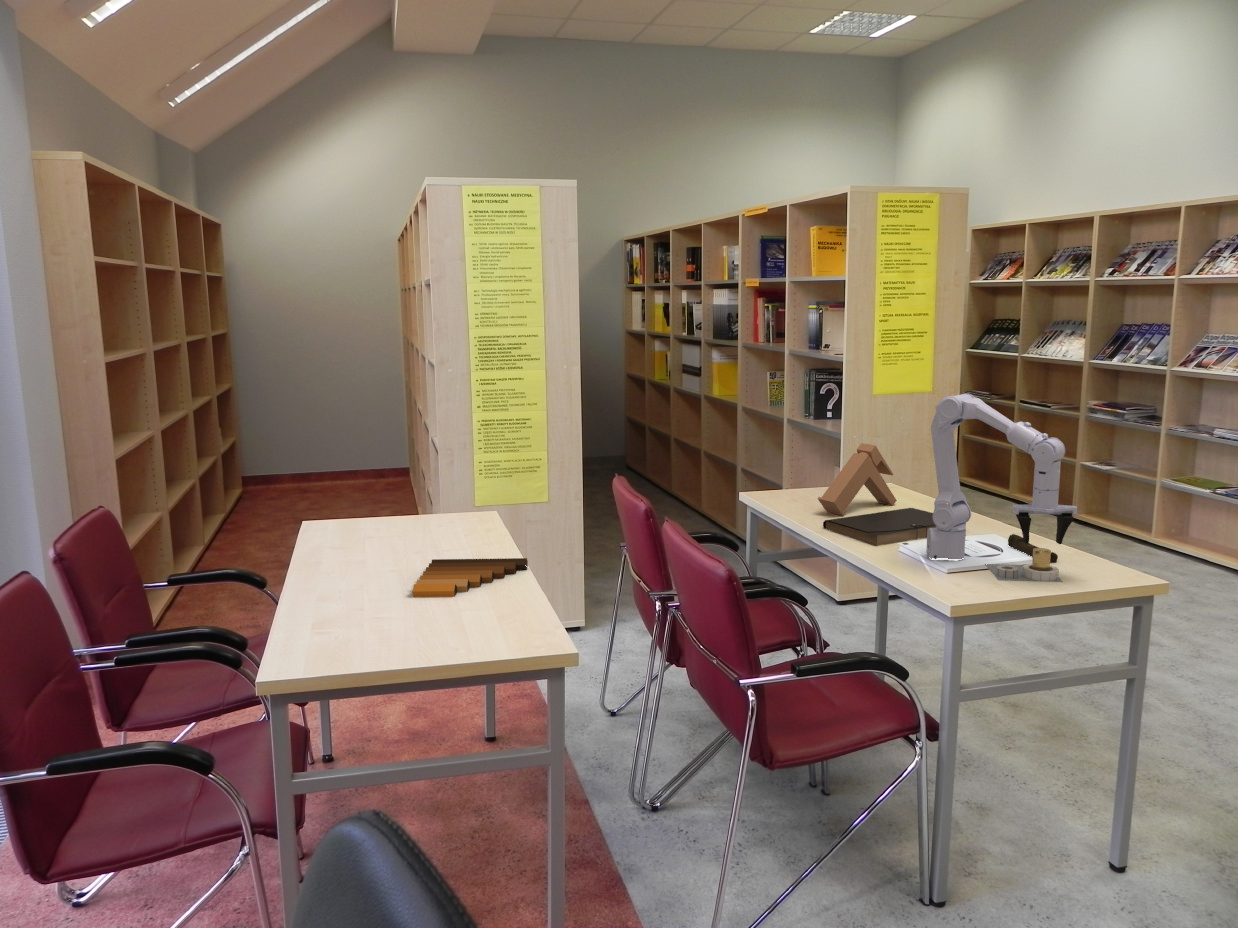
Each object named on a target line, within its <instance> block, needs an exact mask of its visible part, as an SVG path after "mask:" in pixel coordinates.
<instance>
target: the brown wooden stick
mask: <svg viewBox="0 0 1238 928" xmlns="http://www.w3.org/2000/svg"><path fill="white" fill-rule="evenodd" d="M1008 545H1009V546H1011V547H1010V548H1012V547H1013V548H1012V549H1013V550H1016V549H1017V550H1016V551H1018V550H1019V551H1018V552H1020V551H1021V553H1022V552H1024V553H1026V554H1028V555H1027V556H1029V555H1030V556H1029V557H1031V556H1032V557H1031V558H1033V549H1034V548H1040V547H1038V546H1037V545H1034V544H1033V543H1030V542H1029V544H1026V543H1024V542H1023V536H1020V535H1019V534H1015V533H1012V534H1010V535H1009V537H1008V539H1007V546H1008ZM1024 553H1023V554H1024ZM1026 554H1025V555H1026ZM1058 557H1059V555H1058V554H1057V553H1056V552H1053V551H1051V557H1050V564H1052V563H1053V564H1055V563H1057V561H1058Z"/></svg>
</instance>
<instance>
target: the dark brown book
mask: <svg viewBox="0 0 1238 928" xmlns="http://www.w3.org/2000/svg"><path fill="white" fill-rule="evenodd" d="M822 527H823V529H825V530H828V531H831V532H834V533H837V534H839V535H842V536H844V537H845V536H846V537H848V538H850V539H853V540H856V541H860V542H863V543H866V544H868V545H872V546H876V547H879V546H885V545H890V544H896V543H902V542H903V543H905V542H908V541H913V540H918V539H919V540H920V539H927V532H928V529H929V528H936V527H937V526H936V525H935V523H934V521H933V512H930V511H926V510H923V509H919V508H915V507H906V508H900V509H894V510H887V511H879V512H872V513H867V514H866V513H865V514H859V515H858V514H857V515H852V516H851V515H850V516H844V517H839V518H831V519H825V520H824V521H823V523H822Z"/></svg>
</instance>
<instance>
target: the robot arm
mask: <svg viewBox="0 0 1238 928" xmlns="http://www.w3.org/2000/svg"><path fill="white" fill-rule="evenodd" d="M975 419H976V420H979V421H981V422H983V423H985V424H986V425H989V426H991V427H992V428H994V429H996V430H999V431H1000V432H1002V433H1004V435H1006V440H1007V441H1008V442H1009V443H1010V444H1012V445H1013V446H1015V447H1017V448H1019V449H1020V450H1022V451H1024V452H1025V453H1027V454H1029V455H1030V456H1031V459H1032V460H1033V461H1034V471H1033V484H1032V485H1033V486H1032V487H1033V488H1032V500H1031V501H1032V502H1031V503H1029V504H1028V503H1027V504H1012V510H1011V512H1012V514H1014V515H1015V516H1016V519H1017V521H1018V523H1019V526H1020V529H1021V534H1022V538H1023V542H1024V543H1026V544H1029V543H1030V529H1031V522H1032V517H1030V515H1056V534H1055V535H1056V536H1055V541H1056V543H1057V544H1058V545H1062V544H1063V541H1064V537H1065V535H1066V532H1067V531H1068V529H1069V527H1070V526H1071V524H1072V523H1073V522H1074V516H1077V515H1078V507H1077V506H1076V505H1069V504H1068V505H1066V504H1065V505H1064V504H1059V494H1060V492H1059V491H1060V480H1061V479H1060V478H1061V463H1062V459H1063V458H1064V457H1065V454H1066V447H1065V444H1064V443H1063V441H1061V440H1060V439H1059V438H1058V437H1049V434H1048V433H1045V432H1044V433H1042V432H1040V431H1039V430H1037V429H1036V428H1034V427H1032V424H1031V422H1028V421H1026V422H1024V421H1018V422H1014V421H1012V420H1011V419H1009V418H1008V417H1007V416H1005V415H1003V414H1002V413H1000V412H999V411H997V410H996V409H995V408H993V407H991V406H990V405H988V404H987V403H985V402H984V401H983V400H982V399H981V398H978V397H975V396H974V395H973V394H971V393H961V394H957V395H949V396H948V395H947V396H944V397H942V399H941V400H940V401H939V402H938V403H937V404H935V412H934V416H933V418H932V422H931V426H930V432H931V440H932V450H933V457H934V464H935V471H936V473H935V474H936V480H937V481H936V483H937V491H938V494H937V496H936V497H935V499H934V502H933V505H934V508H933V512H932V513H933V521H934V523H935V525H936V526H937V527H936V528H929V529H928V532H927V538H926V549H925V550H926V551H925V553H927V555H926V556H927V557H928V556H929V557H930V558H931V559H932V558H948V559H962V558H964V559H965V554H966V553H965V551H966V547H965V546H966V534H967V527H966V526H967V523H968V522H969V521H970V519H971V516H972V510H971V507H970V506H969V504H968V502H967V497H966V495H965V494H964V493H963V492H962V490H961V484H960V476H959V468H958V460H957V458H958V457H957V452H956V450H957V449H956V445H955V444H956V442H955V435H954V432H955V430H956V429H958V427H959V426H960V425H961V423H963V422H964V421H966V420H975Z"/></svg>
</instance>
